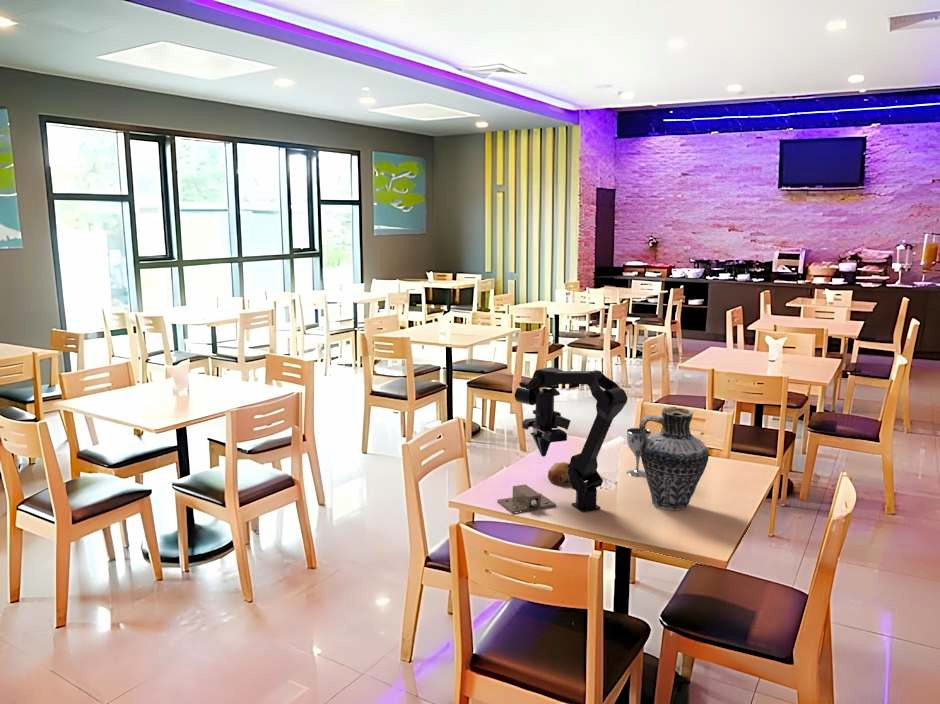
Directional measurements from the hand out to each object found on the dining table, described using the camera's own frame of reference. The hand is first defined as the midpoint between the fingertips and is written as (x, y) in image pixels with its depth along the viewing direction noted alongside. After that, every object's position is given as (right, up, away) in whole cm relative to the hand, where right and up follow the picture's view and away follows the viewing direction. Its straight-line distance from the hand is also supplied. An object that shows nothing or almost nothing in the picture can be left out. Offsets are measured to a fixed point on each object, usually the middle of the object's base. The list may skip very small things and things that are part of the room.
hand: (543, 456), depth 238 cm
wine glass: (+34, -9, +21) cm, 41 cm away
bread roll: (+8, -10, +13) cm, 19 cm away
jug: (+37, -14, -9) cm, 41 cm away
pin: (-6, -14, -8) cm, 17 cm away
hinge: (-6, -14, -8) cm, 17 cm away
